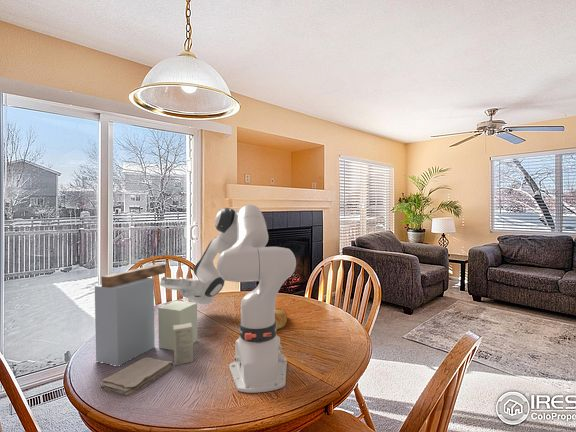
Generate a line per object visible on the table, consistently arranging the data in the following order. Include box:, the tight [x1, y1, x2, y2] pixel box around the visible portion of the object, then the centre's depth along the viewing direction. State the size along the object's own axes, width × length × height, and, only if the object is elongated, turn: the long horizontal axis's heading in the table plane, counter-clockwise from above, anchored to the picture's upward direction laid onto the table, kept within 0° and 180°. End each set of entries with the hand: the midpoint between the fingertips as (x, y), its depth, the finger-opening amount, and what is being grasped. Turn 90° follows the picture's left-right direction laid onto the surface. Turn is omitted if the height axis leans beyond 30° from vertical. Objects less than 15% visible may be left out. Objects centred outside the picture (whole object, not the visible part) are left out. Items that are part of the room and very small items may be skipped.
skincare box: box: [173, 323, 194, 366], centre depth 105 cm, size 6×4×12 cm
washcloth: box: [100, 356, 175, 396], centre depth 95 cm, size 12×18×3 cm, turn 159°
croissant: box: [275, 308, 288, 331], centre depth 138 cm, size 21×10×8 cm, turn 161°
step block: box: [157, 300, 199, 351], centre depth 118 cm, size 10×10×15 cm
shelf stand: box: [94, 277, 156, 367], centre depth 110 cm, size 16×10×26 cm, turn 159°
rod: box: [101, 263, 167, 288], centre depth 115 cm, size 26×4×4 cm, turn 159°
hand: (171, 278), depth 132 cm, fingers open, 8 cm apart
